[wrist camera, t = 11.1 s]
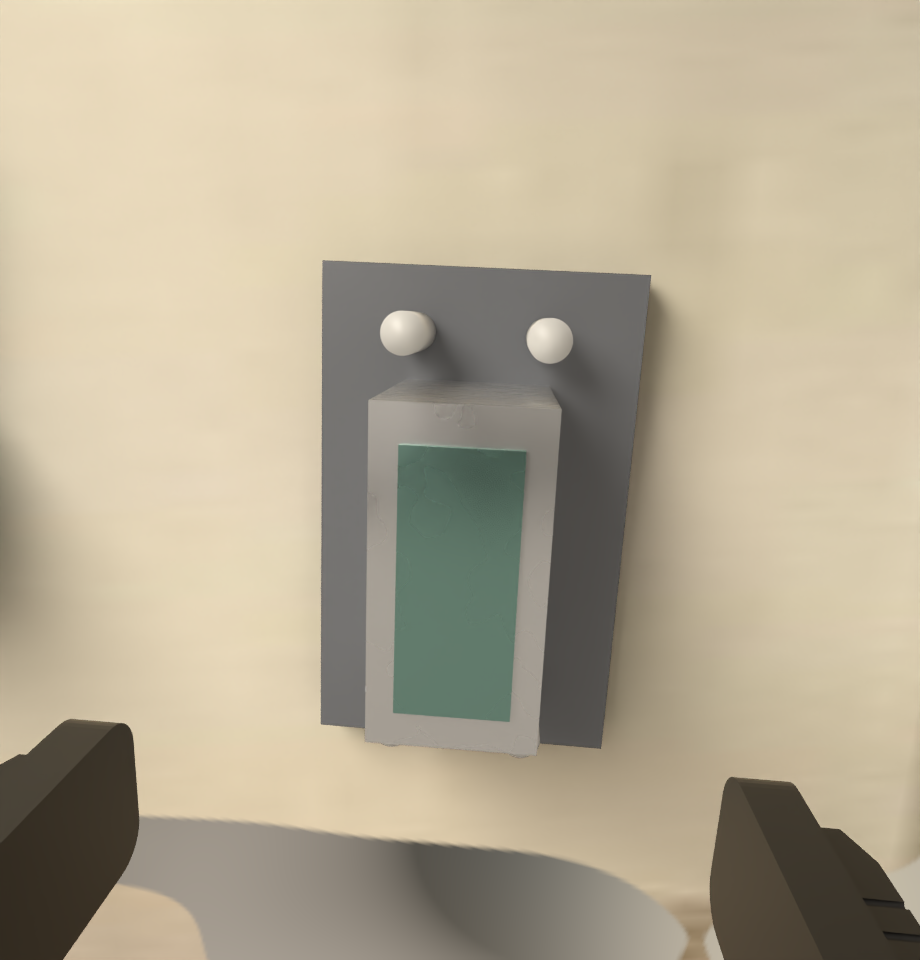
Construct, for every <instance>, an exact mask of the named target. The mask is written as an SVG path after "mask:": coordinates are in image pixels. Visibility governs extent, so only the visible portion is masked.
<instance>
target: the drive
mask: <svg viewBox="0 0 920 960" xmlns="http://www.w3.org/2000/svg"><path fill="white" fill-rule="evenodd" d="M561 413H562V409H561V407H560V405H559V403H558V402H557V400H556V398H555V396H554V394H553V392H552V390H551V388H550V386H547V385H526V384H504V383H483V382H461V381H440V380H418V379H406V380H404V381H402V382H400V383H398V384H396V385H395V386H393V387H391V388H389V389H387V390H386V391H384V392H382V393H380V394H378V395H377V396H375V397H373V398H371V399H369V400H368V487H367V586H366V684H365V742H372V743H384V744H397V745H409V746H422V747H434V748H447V749H459V750H472V751H484V752H497V753H509V754H522V755H534V756H537V743H538V729H539V716H540V702H541V688H542V674H543V660H544V647H545V633H546V619H547V605H548V592H549V578H550V564H551V550H552V537H553V523H554V509H555V495H556V481H557V468H558V454H559V440H560V426H561Z"/></svg>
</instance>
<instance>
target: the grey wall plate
mask: <svg viewBox="0 0 920 960" xmlns="http://www.w3.org/2000/svg"><path fill="white" fill-rule="evenodd" d="M650 281H651V275H635V274H613V273H591V272H569V271H547V270H524V269H502V268H480V267H458V266H436V265H414V264H391V263H369V262H347V261H325V260H323V281H322V549H321V724H323V725H334V726H346V727H357V728H365V684H366V586H367V487H368V400H369V399H371V398H373V397H375V396H377V395H378V394H380V393H382V392H384V391H386V390H387V389H389V388H391V387H393V386H395V385H396V384H398V383H400V382H402V381H404V380H406V379H418V380H440V381H461V382H483V383H504V384H526V385H547V386H550V388H551V390H552V392H553V394H554V396H555V398H556V400H557V402H558V403H559V405H560V407H561V409H562V413H561V426H560V440H559V454H558V468H557V481H556V495H555V509H554V523H553V537H552V550H551V564H550V578H549V592H548V605H547V619H546V633H545V647H544V660H543V674H542V688H541V702H540V716H539V729H538V743H537V749H538V747H539V744H540V743H542V744H553V745H565V746H576V747H588V748H599V749H601V744H602V735H603V725H604V716H605V706H606V697H607V687H608V678H609V668H610V659H611V650H612V640H613V631H614V621H615V612H616V602H617V593H618V583H619V574H620V564H621V555H622V545H623V536H624V527H625V517H626V508H627V498H628V489H629V479H630V470H631V460H632V451H633V441H634V432H635V422H636V413H637V404H638V394H639V385H640V375H641V366H642V356H643V347H644V337H645V328H646V318H647V309H648V300H649V290H650ZM381 744H383V745H386V746H398V745H397V744H384V743H381ZM508 754H509V753H508ZM509 755H511V756H513V757H517V758H524V757H528V756H530V755H522V754H509Z"/></svg>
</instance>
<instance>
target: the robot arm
mask: <svg viewBox="0 0 920 960" xmlns="http://www.w3.org/2000/svg"><path fill="white" fill-rule="evenodd" d="M138 829H139V810H138V796H137V783H136V769H135V756H134V743H133V735H132V732H131V730H130V728H129V727H128V725H126V724H123V723H111V722H100V721H88V720H76V719H69V720H66V721H64V722H63V723H61V724H60V725H59V726H58V727H57V728H55V729H54V730H53V731H52V732H51V733H50V734H49V735H48V736H47V737H46V738H44V739H43V740H42V741H41V742H40V743H39V744H38V745H37V746H36V747H35V748H33V749H32V750H31V751H30V752H29V753H28V754H27V755H21V754H19V755H17V756H15V757H14V758H12V759H10V760H8V761H6V762H4V763H2V764H1V765H0V960H63V959H64V957H65V956H66V955H67V953H68V952H69V950H70V949H71V947H72V946H73V944H74V943H75V942H76V940H77V939H78V937H79V936H80V934H81V933H82V932H83V930H84V929H85V927H86V926H87V924H88V923H89V921H90V920H91V919H92V917H93V916H94V914H95V913H96V911H97V910H98V909H99V907H100V906H101V904H102V903H103V901H104V900H105V898H106V897H107V896H108V894H109V893H110V891H111V890H112V888H113V887H114V886H115V884H116V883H117V881H118V880H119V878H120V877H121V876H122V874H123V872H124V871H125V869H126V867H127V865H128V863H129V861H130V859H131V857H132V854H133V851H134V848H135V845H136V841H137V836H138ZM710 904H711V913H712V919H713V924H714V929H715V932H716V936H717V939H718V942H719V945H720V948H721V951H722V954H723V958H724V960H920V925H919V924H918V922H917V921H916V919H915V918H914V916H913V915H912V913H911V912H910V910H906V909H905V907H904V901H903V899H902V898H901V896H900V895H899V893H898V892H897V890H896V889H895V888H894V886H893V884H892V883H891V881H890V880H889V878H888V877H887V875H886V874H885V872H884V871H883V869H882V868H881V866H880V865H879V863H878V862H877V861H876V860H874V859H873V858H872V857H871V856H870V855H869V854H868V853H866V852H865V851H864V850H863V849H862V848H861V847H860V846H858V845H857V844H856V843H855V842H854V841H853V840H852V839H850V838H849V837H848V836H847V835H846V834H845V833H843V832H842V831H841V830H840V829H830V828H820V826H819V824H818V823H817V821H816V819H815V817H814V816H813V814H812V812H811V811H810V809H809V807H808V806H807V804H806V802H805V801H804V799H803V797H802V796H801V794H800V792H799V791H798V789H797V788H796V786H795V785H794V784H792V783H791V782H782V781H771V780H759V779H747V778H735V777H730V778H729V779H728V780H727V782H726V784H725V787H724V791H723V797H722V803H721V810H720V816H719V823H718V829H717V836H716V842H715V849H714V855H713V862H712V868H711V876H710Z"/></svg>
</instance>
